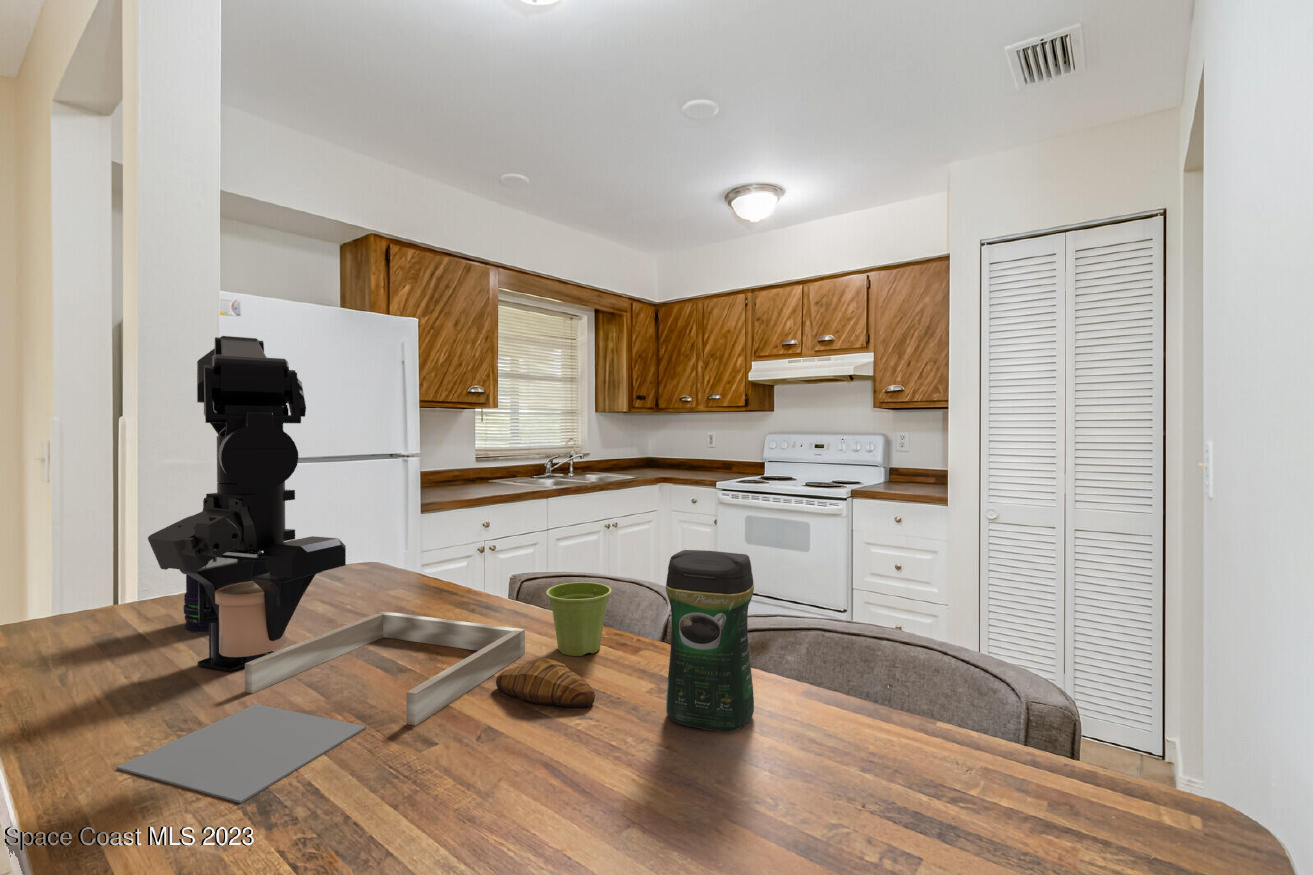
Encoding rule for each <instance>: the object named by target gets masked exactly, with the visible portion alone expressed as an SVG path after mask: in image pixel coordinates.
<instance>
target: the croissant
mask: <svg viewBox="0 0 1313 875" xmlns="http://www.w3.org/2000/svg"><path fill="white" fill-rule="evenodd" d="M495 685H496V688H498V690H500V691H501V692H503V693H504V694H506V695H508V696H510V697H514V698H518V699H520V700H522V701H525V702H527V703H531V704H533V705H544V706H545V705H546V706H557V707H561V708H585V707H590V706H591V707H592V706H593V704H594V703H595V699H596V692H595V690H594V689H593V687H592V686H591V685H590V684H589V682H588V681H586V680H585V678H582V677H581V676H580V675H578V674H577V673H576V672H574V671H572V670H570V669H569V667H567V666H566V664H564V663H562V662H560V661H556V660H554V659H551V658H545V657H542V658H540V659H537V660H534V661H530V662H529V663H527V664H525V665H517V666H514V667H511V668H508V669H506V670H504V671H501V672H500V673H499V674H498V675H496V679H495Z"/></svg>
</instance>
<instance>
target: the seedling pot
mask: <svg viewBox="0 0 1313 875" xmlns="http://www.w3.org/2000/svg"><path fill="white" fill-rule="evenodd" d="M215 603H216V604H217V605H219V653H220V654H221V655H222V656H226V657H245V656H253V655H258V654H263V653H267V652H270V651H275V650H276V651H277V650H278V649H280V648H281V647H284V645H286V643H287V641H286V640H287V637H286V636H287V635H286V634H287V632H286V631H287V630H286V629H287V628H286V629H285V631H284V633H283V635H282V637H281V638H280V639H278V640H275V641H270V640H269V637H268V632H267V626H266V613H265V600H264V591H263V589H261V588H260V587H259V586H258V585H257V584H256V583H255V582H254V581H250V582H243V583H237V584H232V585H228V586H225V587H222V588H220V589H218V590H216V591H215Z"/></svg>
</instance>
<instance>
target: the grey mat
mask: <svg viewBox="0 0 1313 875" xmlns="http://www.w3.org/2000/svg"><path fill="white" fill-rule="evenodd" d="M366 729H367V726H365V725H361V724H357V723H352V722H346V721H342V720H337V719H332V718H327V717H326V718H325V717H321V716H317V715H313V714H312V715H311V714H309V713H308V714H307V713H303V712H297V711H292V710H288V709H282V708H277V707H272V706H268V705H263V704H259V703H255V704H253V705H251V706H249V707H246V708H244V709H241V710H240V711H237V712H236V713H233V714H230V715H228V716H227V717H224V718H221V719H219V720H217V721H215V722H213V723H211V724H208V725H207V726H204V727H201V728H199V729H197V730H195V731H193V732H190V733H188V734H187V735H184V736H182V737H180V738H178V739H174V740H173V741H171V742H169V743H166V744H164V745H162V746H160V747H157V748H156V749H153V750H151V751H148V752H147V753H144V754H142V755H140V756H137V757H135V758H134V759H131V760H129V761H126V762H124V763H122V764H120V765H117V767H116V770H118V771H124V772H126V773H129V774H130V773H131V774H135V775H137V776H141V777H144V778H147V779H153V780H156V781H159V782H162V783H166V784H169V785H172V786H177V787H181V788H184V789H188V790H191V791H196V792H199V793H203V794H206V795H209V796H213V797H217V798H220V799H224V800H228V801H231V802H235V803H238V804H242V803H244V802H246V801H248V800H249V799H251V798H252V797H254V796H255V795H257V794H259V793H261V792H262V791H264V790H266V789H267V788H269V787H270V786H273V785H274V784H276V783H277V782H279V781H280V780H282V779H284V778H285V777H288V776H289V775H290V774H292V773H294V772H296V771H297V770H299V769H300V768H302V767H304V766H306V765H307V764H309V763H310V762H312V761H314V760H316V759H317V758H319V757H321V756H322V755H324V754H325V753H328V752H329V751H331V750H333V749H334V748H335V747H337V746H339V745H341V744H343V743H344V742H346V741H347V740H349V739H351V738H352V737H354V736H356V735H358V734H359V733H360V732H361V733H362V731H364V730H366Z"/></svg>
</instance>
